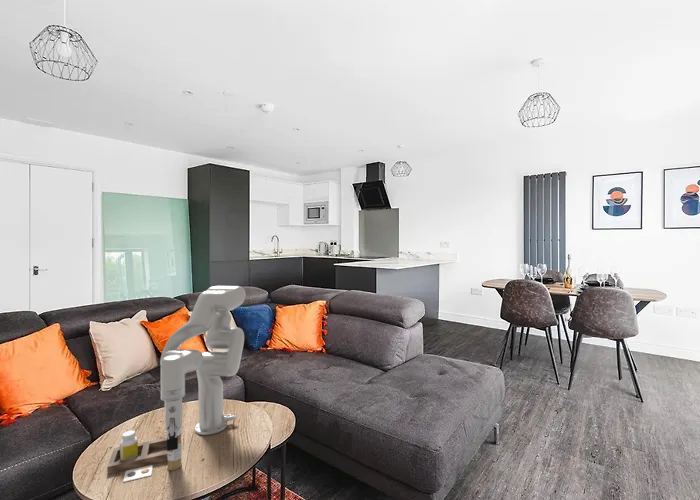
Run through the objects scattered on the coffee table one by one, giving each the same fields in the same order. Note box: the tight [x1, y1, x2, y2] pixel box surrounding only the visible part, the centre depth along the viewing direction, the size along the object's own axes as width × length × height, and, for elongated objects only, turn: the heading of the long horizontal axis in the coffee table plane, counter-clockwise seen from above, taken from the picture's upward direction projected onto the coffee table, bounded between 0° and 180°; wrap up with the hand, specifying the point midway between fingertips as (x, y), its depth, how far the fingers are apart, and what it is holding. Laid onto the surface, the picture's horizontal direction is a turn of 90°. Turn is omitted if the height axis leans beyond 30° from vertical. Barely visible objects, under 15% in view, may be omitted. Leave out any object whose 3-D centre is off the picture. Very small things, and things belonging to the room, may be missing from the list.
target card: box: [122, 464, 154, 483], centre depth 121 cm, size 8×6×1 cm
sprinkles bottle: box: [166, 426, 182, 471], centre depth 124 cm, size 5×5×13 cm
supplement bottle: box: [119, 429, 139, 461], centre depth 128 cm, size 5×5×10 cm
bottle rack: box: [106, 437, 168, 475], centre depth 130 cm, size 21×12×2 cm, turn 114°
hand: (173, 442), depth 123 cm, fingers open, 9 cm apart
